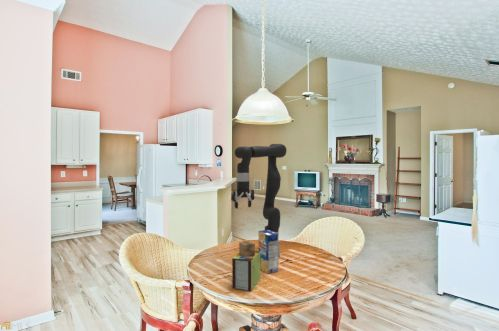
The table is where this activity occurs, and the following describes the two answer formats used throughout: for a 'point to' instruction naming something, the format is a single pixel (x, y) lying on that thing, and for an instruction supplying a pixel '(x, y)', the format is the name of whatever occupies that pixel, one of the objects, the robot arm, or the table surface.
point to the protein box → (245, 271)
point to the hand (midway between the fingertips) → (243, 207)
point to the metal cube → (246, 248)
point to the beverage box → (268, 251)
